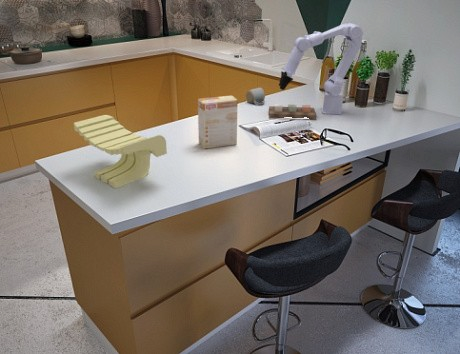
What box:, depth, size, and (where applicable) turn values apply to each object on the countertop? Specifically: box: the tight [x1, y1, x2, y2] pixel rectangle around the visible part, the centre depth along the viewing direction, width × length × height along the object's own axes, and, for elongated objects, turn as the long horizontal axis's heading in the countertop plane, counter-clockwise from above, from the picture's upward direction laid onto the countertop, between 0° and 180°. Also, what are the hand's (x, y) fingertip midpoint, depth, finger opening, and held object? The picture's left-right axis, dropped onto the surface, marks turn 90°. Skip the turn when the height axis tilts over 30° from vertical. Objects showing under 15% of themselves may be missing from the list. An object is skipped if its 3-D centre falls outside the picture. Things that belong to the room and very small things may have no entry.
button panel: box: [268, 105, 318, 121], centre depth 218 cm, size 23×12×2 cm, turn 87°
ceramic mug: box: [245, 87, 266, 106], centre depth 235 cm, size 11×8×8 cm
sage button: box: [287, 104, 298, 112], centre depth 217 cm, size 4×4×3 cm
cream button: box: [274, 103, 284, 112], centre depth 217 cm, size 4×4×3 cm
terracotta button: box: [302, 104, 312, 113], centre depth 216 cm, size 4×4×3 cm
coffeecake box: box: [197, 95, 238, 150], centre depth 178 cm, size 15×7×20 cm, turn 111°
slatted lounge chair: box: [73, 114, 168, 189], centre depth 150 cm, size 30×16×18 cm, turn 48°
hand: (281, 87), depth 214 cm, fingers open, 7 cm apart
